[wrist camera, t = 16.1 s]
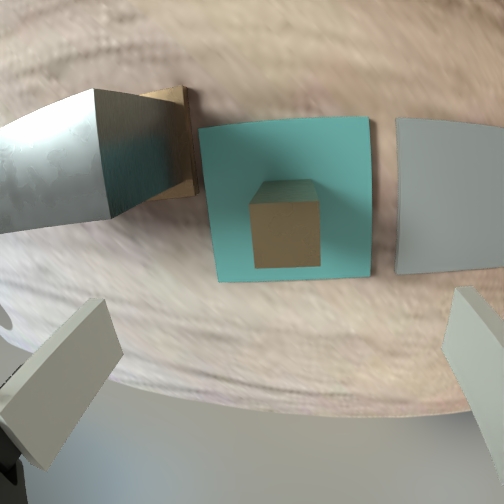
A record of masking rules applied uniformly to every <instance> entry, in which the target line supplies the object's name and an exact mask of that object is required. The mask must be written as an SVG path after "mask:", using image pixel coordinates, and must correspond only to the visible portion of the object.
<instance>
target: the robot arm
mask: <svg viewBox="0 0 504 504" xmlns="http://www.w3.org/2000/svg"><path fill="white" fill-rule="evenodd" d="M441 349H442V351H443V353H444V355H445V357H446V359H447V361H448V363H449V365H450V367H451V369H452V371H453V372H454V374H455V376H456V378H457V380H458V382H459V385H460V387H461V389H462V391H463V393H464V395H465V397H466V399H467V401H468V403H469V406H470V408H471V410H472V412H473V414H474V417H475V419H476V421H477V423H478V426H479V428H480V430H481V433H482V435H483V437H484V440H485V442H486V445H487V447H488V450H489V452H490V455H491V458H492V460H493V463H494V465H495V468H496V471H497V474H498V476H499V479H500V482H501V485H502V486H504V321H503V320H502V319H501V317H500V316H499V315H498V314H497V313H496V312H495V310H494V309H493V308H492V307H491V306H490V305H489V304H488V302H487V301H486V300H485V299H484V298H483V297H482V296H481V295H480V294H479V293H478V291H477V290H476V289H475V288H474V287H473V286H463V287H455V291H454V296H453V302H452V306H451V311H450V316H449V320H448V324H447V329H446V333H445V337H444V340H443V344H442V348H441ZM123 355H124V354H123V351H122V349H121V346H120V343H119V340H118V338H117V335H116V332H115V329H114V326H113V323H112V320H111V317H110V314H109V311H108V308H107V305H106V302H105V299H95V298H90V299H89V300H88V301H87V302H86V303H84V304H83V305H82V306H81V307H80V308H79V309H78V310H77V311H76V312H75V313H74V314H73V315H72V316H71V317H70V318H69V319H68V320H67V321H66V322H65V323H64V324H63V325H62V326H61V327H60V328H59V329H58V330H57V331H56V332H55V333H54V334H53V335H52V336H51V337H50V338H49V339H48V340H47V341H46V342H45V343H44V344H43V345H42V346H41V347H40V348H39V349H38V350H37V351H36V352H35V353H34V354H33V355H32V356H31V357H30V358H29V359H28V360H27V361H26V362H25V363H24V364H22V365H20V366H19V367H18V369H17V370H16V371H15V372H14V373H13V374H12V376H10V377H9V378H8V379H7V380H6V383H4V384H3V385H2V386H1V387H0V504H28V501H27V495H26V488H25V480H24V470H23V465H22V462H21V461H20V460H19V457H20V455H21V454H23V456H24V457H25V458H26V459H27V460H28V461H29V462H30V464H32V465H33V466H36V467H37V468H40V469H42V470H44V471H47V470H48V469H49V467H50V466H51V464H52V462H53V460H54V459H55V457H56V456H57V454H58V453H59V451H60V450H61V448H62V446H63V445H64V443H65V442H66V440H67V438H68V437H69V435H70V434H71V432H72V431H73V429H74V428H75V426H76V424H77V423H78V421H79V420H80V418H81V417H82V415H83V413H84V412H85V411H86V409H87V407H88V406H89V405H90V403H91V402H92V400H93V399H94V397H95V396H96V394H97V393H98V391H99V390H100V388H101V387H102V385H103V384H104V382H105V381H106V379H107V378H108V376H109V375H110V373H111V372H112V371H113V369H114V368H115V366H116V365H117V363H118V362H119V360H120V359H121V358H122V356H123Z"/></svg>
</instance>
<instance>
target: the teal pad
mask: <svg viewBox="0 0 504 504" xmlns="http://www.w3.org/2000/svg"><path fill="white" fill-rule="evenodd" d="M198 132H199V141H200V150H201V158H202V166H203V175H204V183H205V191H206V198H207V206H208V214H209V221H210V228H211V236H212V243H213V250H214V257H215V263H216V270H217V277H218V282H253V281H283V280H308V279H331V278H351V277H370V268H371V244H372V172H371V147H370V130H369V117H319V118H297V119H282V120H269V121H257V122H247V123H238V124H229V125H221V126H213V127H206V128H199V129H198ZM298 179H312V182H313V185H314V188H315V190H316V193H317V196H318V199H319V209H320V246H321V266H320V267H293V268H263V269H255V266H254V255H253V245H252V234H251V223H250V213H249V203H250V201H251V200H252V198H253V197H254V195H255V194H256V192H257V191H258V189H259V187H260V186H261V184H262V183H263V181H278V180H298Z"/></svg>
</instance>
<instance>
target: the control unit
mask: <svg viewBox="0 0 504 504" xmlns="http://www.w3.org/2000/svg"><path fill="white" fill-rule="evenodd" d="M197 194H199V189H198V181H197V173H196V165H195V157H194V148H193V139H192V131H191V121H190V112H189V102H188V92H187V87H185V86H177V87H172V88H167V89H163V90H158V91H154V92H150V93H145V94H141V95H134V94H128V93H122V92H115V91H108V90H101V89H91V90H88V91H85V92H82V93H80V94H77V95H74V96H72V97H69V98H66V99H64V100H61V101H59V102H56V103H54V104H52V105H49V106H47V107H45V108H42V109H40V110H38V111H35V112H33V113H31V114H29V115H27V116H25V117H22V118H20V119H18V120H16V121H14V122H12V123H10V124H8V125H6V126H4V127H2V128H0V234H3V233H10V232H16V231H23V230H30V229H37V228H44V227H51V226H59V225H66V224H74V223H82V222H90V221H98V220H107V219H112V218H114V217H116V216H118V215H119V214H121V213H123V212H125V211H127V210H129V209H131V208H133V207H134V206H136V205H138V204H140V203H142V202H145V201H153V200H162V199H171V198H181V197H191V196H196V195H197Z"/></svg>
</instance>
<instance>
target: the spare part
mask: <svg viewBox="0 0 504 504" xmlns="http://www.w3.org/2000/svg"><path fill="white" fill-rule="evenodd" d="M249 213H250V223H251V234H252V245H253V255H254V266H255V269H263V268H293V267H320V266H321V246H320V209H319V199H318V196H317V193H316V190H315V188H314V185H313V182H312V179H298V180H278V181H263V183H262V184H261V186H260V187H259V189H258V191H257V192H256V194H255V195H254V197H253V198H252V200H251V201H250V203H249Z"/></svg>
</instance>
